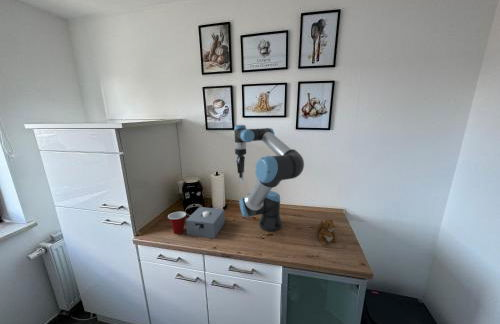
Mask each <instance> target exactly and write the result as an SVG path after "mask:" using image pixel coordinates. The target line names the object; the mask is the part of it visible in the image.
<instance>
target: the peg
mask: <svg viewBox="0 0 500 324" xmlns="http://www.w3.org/2000/svg"><path fill="white" fill-rule="evenodd" d="M209 216H210V212H209V211H205V212H203V217H209Z"/></svg>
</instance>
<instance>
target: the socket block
mask: <svg viewBox="0 0 500 324" xmlns="http://www.w3.org/2000/svg"><path fill="white" fill-rule="evenodd" d="M214 208H215V207H203V206H199V207H198V208H197V209H196V210H195V211H194V212H193V213H191V214H190V216H189V217H187V218H185V225H186V235H187V236H193V237H194V236H195V237H201V238H207V239H215V238H216V236H217V235H218V233H220V230H221V229H222V227H223V226H224V225H225V224H226V223H225V219H226V218H225V209H222V208H215V209H214ZM205 211H209V212H210V216H209V217H203V212H205ZM199 224H203V225H202V226H201V227H200V230H199V231H197V230H195V226H198V225H199Z"/></svg>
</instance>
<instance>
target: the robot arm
mask: <svg viewBox="0 0 500 324" xmlns="http://www.w3.org/2000/svg"><path fill="white" fill-rule="evenodd" d="M246 126H247V125H244V124H236V125H234V130H233V132H234V148H235V149H234V154H235V155H237V157H236V160H235V161H236V166H237V167H236V168H237V174H238V182H239V183H244V173H245V161H246V159H245V158H246V156H245V155H246V154H247V149H246V148H247V143H252V142H258V141H259V142H260V141H262V142H263V144H265V145H266V146H267V147H268V148H269V149H270V150H271V151H272V152H273V153H274V154H275V155H267V156H262V157H260V158H259V159H258V160H257V162H256V163H255V164H256V165H255V176H256V179H257V180H256V182H255V183H254V185H253V187H252V189H251V191H250V193H247V194H246V195H245V197H242V198H241V197H240V199H239V208H240V213H241V215H242V217H244V218H249V217H253V216H258V215H260V218H259V222H258V226H259V228H260V229H261V230H263V231H265V232H277V231H279V230H281V229H282V227H283V223H282V222H283V221H282V219H281V215H280V213H281V211H280V209H281V208H280V207H281V196H280V194H279V193H278V192H277V191H273V190H272V189H273V188H275V187H276V188H277V186H279V184H280V183H281V182H282V181H285V180H291V179H296V178H298V177H299V176H300V175H301V174H302V172H303V171H304V167H305V161H304V158H303V156H302V155H301V154H300V153H299V152H298V150H296V149H294V148H293V149H291V148H290V147H289V145H287V144H285V142H284V141H282V140H281V139H279V138H278V137H277V136H276V135H275V131H274V129H273V128H271V127H270V128H269V127H265V128H263V127H262V128H247V127H246Z"/></svg>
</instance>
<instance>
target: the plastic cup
mask: <svg viewBox="0 0 500 324" xmlns="http://www.w3.org/2000/svg"><path fill="white" fill-rule="evenodd" d="M186 216H187V213H186V211H174V212H172V213H169V214H168V215H167V219H168V220H169V221H170V225H171V228H172V231H173V233H174V235H181V234H182V233H183V232H184V230H185V229H184V228H185V223H186Z"/></svg>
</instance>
